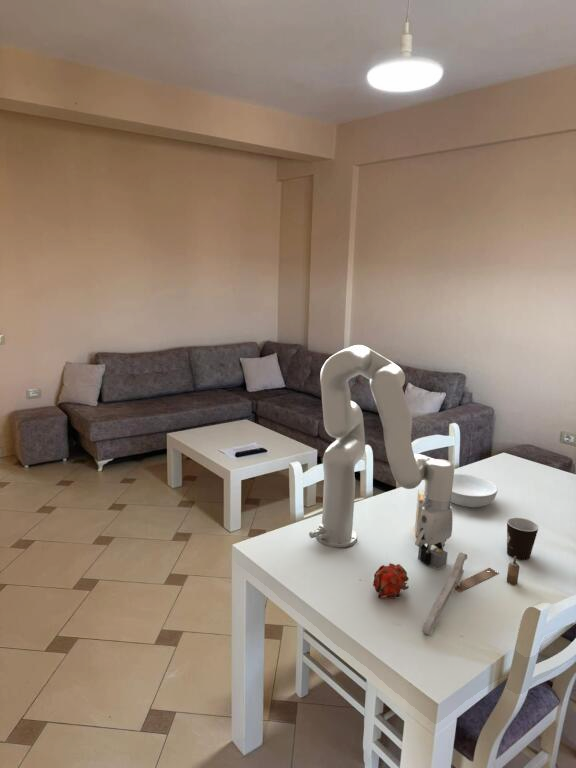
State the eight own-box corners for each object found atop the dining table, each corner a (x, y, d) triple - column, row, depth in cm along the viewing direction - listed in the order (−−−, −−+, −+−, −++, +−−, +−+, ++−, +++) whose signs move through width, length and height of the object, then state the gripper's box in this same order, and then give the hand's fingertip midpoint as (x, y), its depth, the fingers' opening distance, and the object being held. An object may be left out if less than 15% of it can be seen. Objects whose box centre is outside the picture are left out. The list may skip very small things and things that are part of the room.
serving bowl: (500, 498, 201) (503, 481, 200) (487, 520, 184) (490, 501, 183) (445, 485, 212) (447, 468, 211) (428, 504, 195) (430, 486, 193)
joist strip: (459, 592, 143) (459, 591, 143) (450, 586, 145) (450, 586, 145) (498, 573, 152) (498, 572, 152) (489, 568, 155) (489, 567, 154)
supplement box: (430, 539, 169) (434, 501, 166) (415, 537, 170) (418, 499, 167) (429, 527, 177) (433, 490, 174) (414, 525, 178) (418, 488, 175)
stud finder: (438, 569, 153) (439, 555, 152) (417, 559, 158) (419, 545, 157) (446, 564, 156) (447, 550, 155) (425, 554, 161) (427, 540, 160)
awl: (513, 585, 146) (517, 560, 145) (504, 580, 149) (507, 555, 147) (519, 582, 148) (523, 557, 146) (510, 577, 150) (513, 553, 148)
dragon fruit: (404, 589, 146) (380, 615, 138) (382, 564, 149) (357, 588, 140) (421, 575, 140) (397, 601, 132) (398, 549, 143) (373, 574, 135)
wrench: (421, 643, 127) (459, 572, 150) (428, 647, 126) (466, 574, 149) (422, 616, 124) (461, 547, 148) (430, 619, 123) (468, 549, 147)
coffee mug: (531, 565, 157) (536, 534, 154) (500, 556, 161) (504, 525, 159) (537, 548, 166) (541, 518, 164) (507, 540, 171) (511, 511, 168)
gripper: (427, 515, 145) (421, 575, 149) (466, 501, 155) (460, 558, 159) (406, 504, 151) (401, 562, 155) (445, 491, 161) (440, 547, 165)
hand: (431, 560), depth 157 cm, fingers closed on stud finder, 4 cm apart
